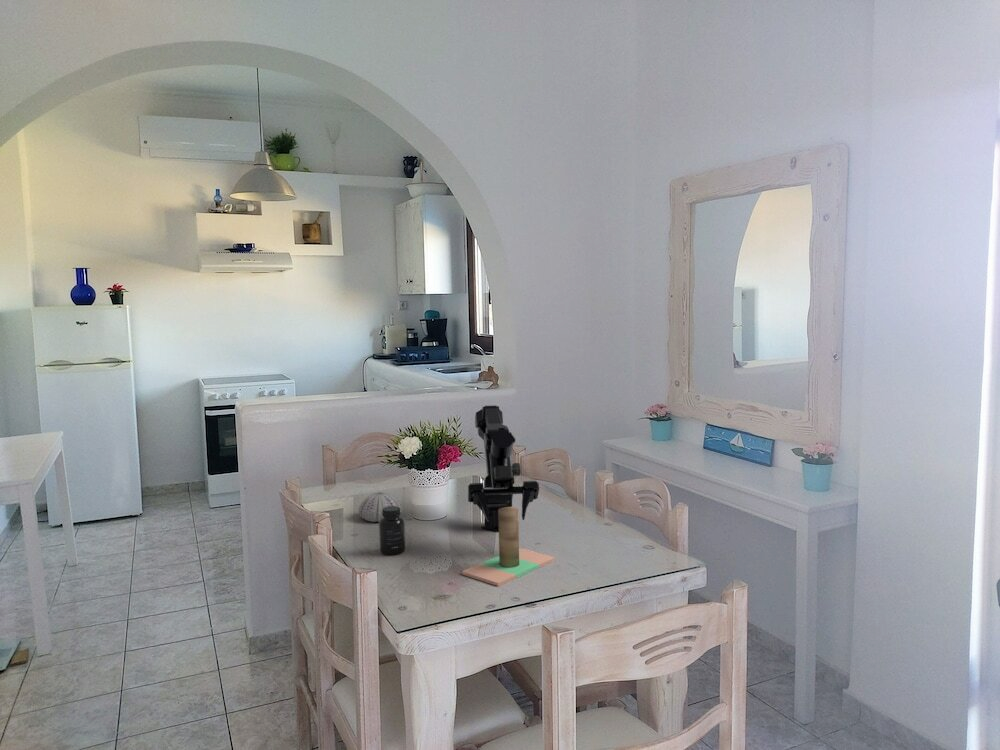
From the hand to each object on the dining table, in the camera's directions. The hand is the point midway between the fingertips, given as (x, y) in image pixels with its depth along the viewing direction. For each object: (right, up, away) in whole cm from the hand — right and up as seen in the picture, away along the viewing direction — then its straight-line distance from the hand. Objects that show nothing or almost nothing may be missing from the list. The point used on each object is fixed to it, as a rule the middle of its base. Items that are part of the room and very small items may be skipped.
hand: (505, 520), depth 188 cm
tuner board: (+1, -11, -6) cm, 12 cm away
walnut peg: (+1, -10, -6) cm, 11 cm away
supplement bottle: (-30, -10, +7) cm, 33 cm away
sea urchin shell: (-39, -7, +39) cm, 55 cm away
